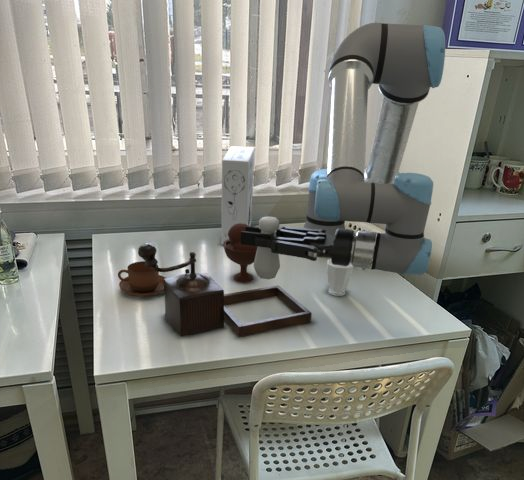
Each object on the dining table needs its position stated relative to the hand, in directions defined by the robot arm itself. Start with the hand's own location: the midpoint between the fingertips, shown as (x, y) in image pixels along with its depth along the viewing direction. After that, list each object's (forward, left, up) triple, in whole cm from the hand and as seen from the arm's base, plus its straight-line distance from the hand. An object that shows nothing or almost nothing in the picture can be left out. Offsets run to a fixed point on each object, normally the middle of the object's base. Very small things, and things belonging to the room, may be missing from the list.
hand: (243, 234), depth 111 cm
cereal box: (-21, -50, -19) cm, 58 cm away
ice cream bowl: (-8, -17, -19) cm, 27 cm away
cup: (-27, -2, -19) cm, 33 cm away
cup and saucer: (+18, -19, -19) cm, 32 cm away
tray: (-3, +3, -18) cm, 19 cm away
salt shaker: (-4, +4, -9) cm, 10 cm away
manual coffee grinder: (+15, +1, -19) cm, 24 cm away
